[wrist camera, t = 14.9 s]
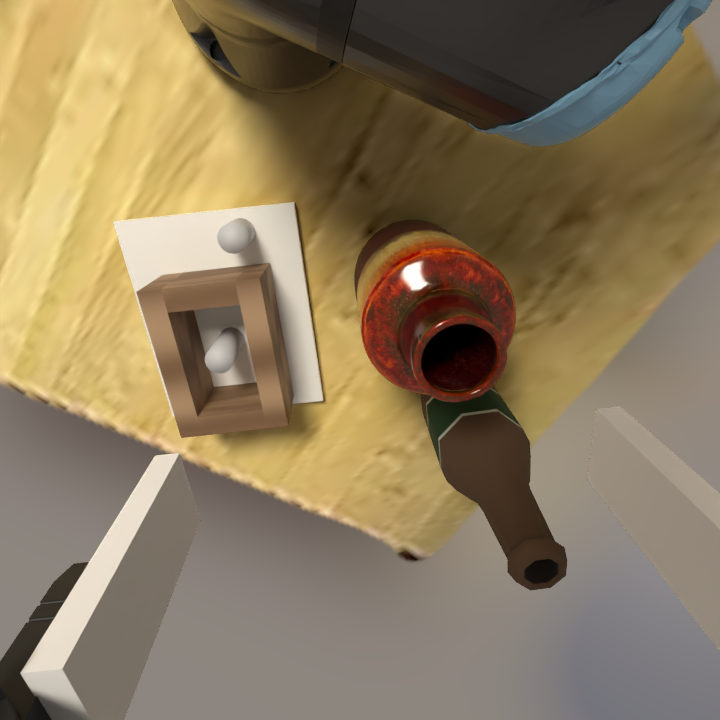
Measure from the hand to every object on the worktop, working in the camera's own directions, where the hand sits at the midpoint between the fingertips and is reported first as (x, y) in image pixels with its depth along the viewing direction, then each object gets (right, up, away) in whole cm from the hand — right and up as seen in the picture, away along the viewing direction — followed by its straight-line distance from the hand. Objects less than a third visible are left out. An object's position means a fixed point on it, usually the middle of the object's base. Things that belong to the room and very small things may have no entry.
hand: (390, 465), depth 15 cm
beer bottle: (+9, 0, +35) cm, 36 cm away
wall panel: (-14, +8, +31) cm, 34 cm away
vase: (+4, +12, +30) cm, 32 cm away
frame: (-14, +5, +31) cm, 34 cm away
